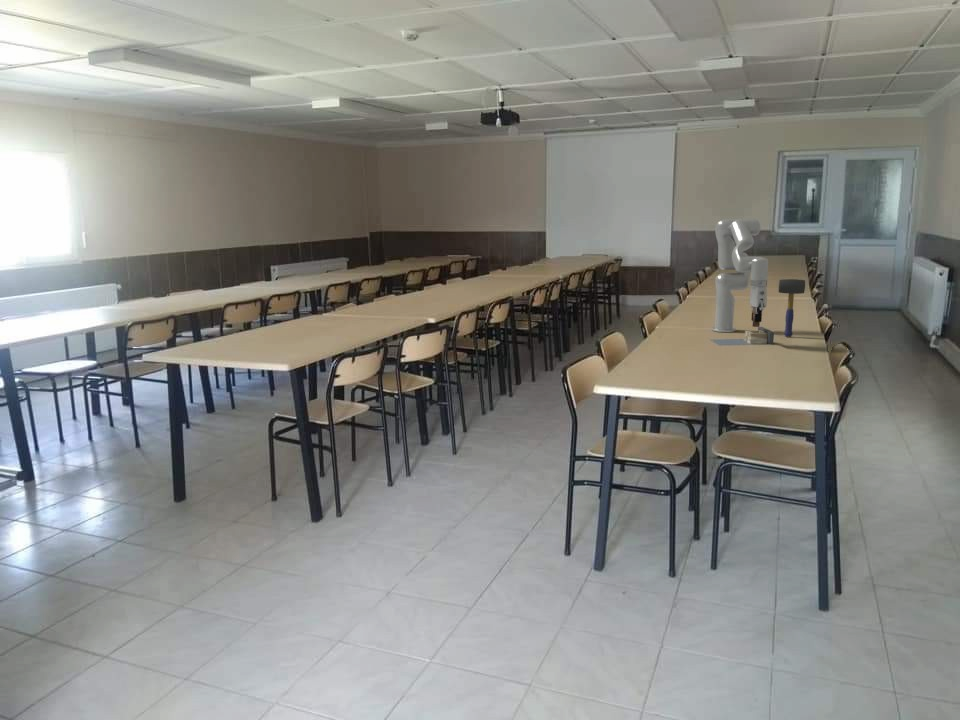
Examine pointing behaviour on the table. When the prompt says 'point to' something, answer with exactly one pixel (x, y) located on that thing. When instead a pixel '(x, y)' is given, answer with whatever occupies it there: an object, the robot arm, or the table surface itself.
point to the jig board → (741, 341)
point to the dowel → (755, 324)
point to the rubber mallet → (790, 299)
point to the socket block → (756, 337)
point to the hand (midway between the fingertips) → (756, 320)
